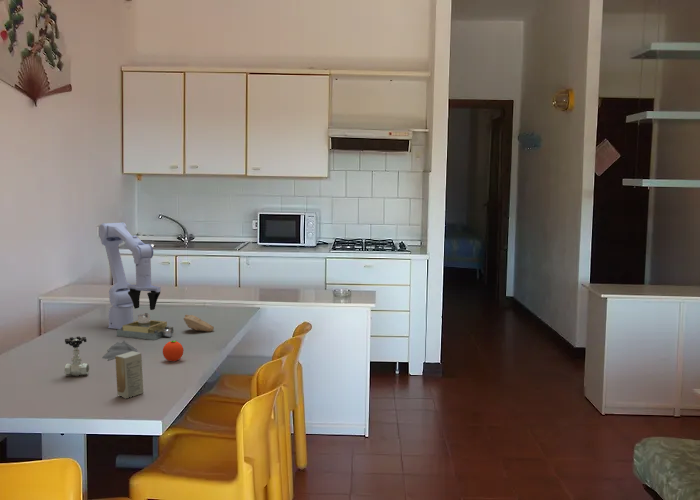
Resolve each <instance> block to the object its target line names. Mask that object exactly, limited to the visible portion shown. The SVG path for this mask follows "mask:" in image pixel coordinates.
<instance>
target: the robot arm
mask: <svg viewBox="0 0 700 500" xmlns="http://www.w3.org/2000/svg"><path fill="white" fill-rule="evenodd" d="M98 234H99V238H100V242H101V245H102V246H104V247H105V248H104V249H105V252H106V255H107V256H106V257H107V259H108V265H109V268H110V272H111V277H112V282H113V285H112V286H111V287H110V289H109V290H108V293H109V303H110V305H111V307H110V308H109V310H108V326H107V328H108V329H115V330H117V329H120V328H121V327H123V325H125V324H129V323H132V322H134V309H135V310H137V309H139V308H140V297H141V292H147V298H148V301H149V310H150V311H154V310H156V305H157V302H158V299H159V297H160V295H161V291H162V289H161V286H158V285H152V263H151V262H152V260H151V259H153V256H154V249H153V246H152V245H151V243H145V242H143V241H142V240H141V239H140V238H139V237H138V235H135V234H134V235H132V234H131V233H130V232H129V230H128V226H127V224H126V223H125V222H123V221H121V222H102V223H101V224H100V225H99V230H98ZM124 242H125V243H124ZM122 243H124V245H125V247H126V248H127V249H128V250H129V251H130V252H131V254H132V257H133V262H134V264H135V283H136V284H132V283H130V282H128V281H127V277H126V273H125V270H124V269H125V268H124V266H123V261H122V256H121V252H120V249H119V247H120V245H121V244H122Z"/></svg>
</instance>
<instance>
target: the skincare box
mask: <svg viewBox="0 0 700 500" xmlns="http://www.w3.org/2000/svg"><path fill="white" fill-rule="evenodd" d="M115 358H116V359H115V371H116V375H115V377H116V391H117V394H116V395H117V396H118V395H119V396H122V397H124V398H123V399H126V398H127V399H130V398H132V396H133V397H135V396H139V395H141V394H144V379H143V378H144V377H143V360H142V352H139V351H138V352H134V351H131V352H128V353H124V354H121V355H117V356H115ZM119 396H118V397H119ZM122 397H121V398H122ZM129 397H130V398H129Z"/></svg>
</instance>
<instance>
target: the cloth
mask: <svg viewBox="0 0 700 500" xmlns="http://www.w3.org/2000/svg"><path fill="white" fill-rule="evenodd" d="M131 351H134V352H138V353H139V350H138V349H137V348H135V347H134V346H132V345H131V344H128V342H127V341H125V340H122V341H121V342H120V341H117V342H115V343H114V344H113V345H111V346H110V347H109V349H107V352H106V353H105V354H104V355H102V357H101V359H105V360H107V361H108V362H109V361H113V360H116V358H115V356H117V355H121V354H124V353H128V352H131Z"/></svg>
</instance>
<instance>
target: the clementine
mask: <svg viewBox="0 0 700 500" xmlns="http://www.w3.org/2000/svg"><path fill="white" fill-rule="evenodd" d="M162 355H163V357H164V358H165V360H167V361H169V362H176V361H178V360H180V359H181V358H182V357H183V355H184V348H183V345H182V344H181V343H180V342H179V341H178V340H171V341H168V342H166V343H165V344H164V346H163V348H162Z"/></svg>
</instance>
